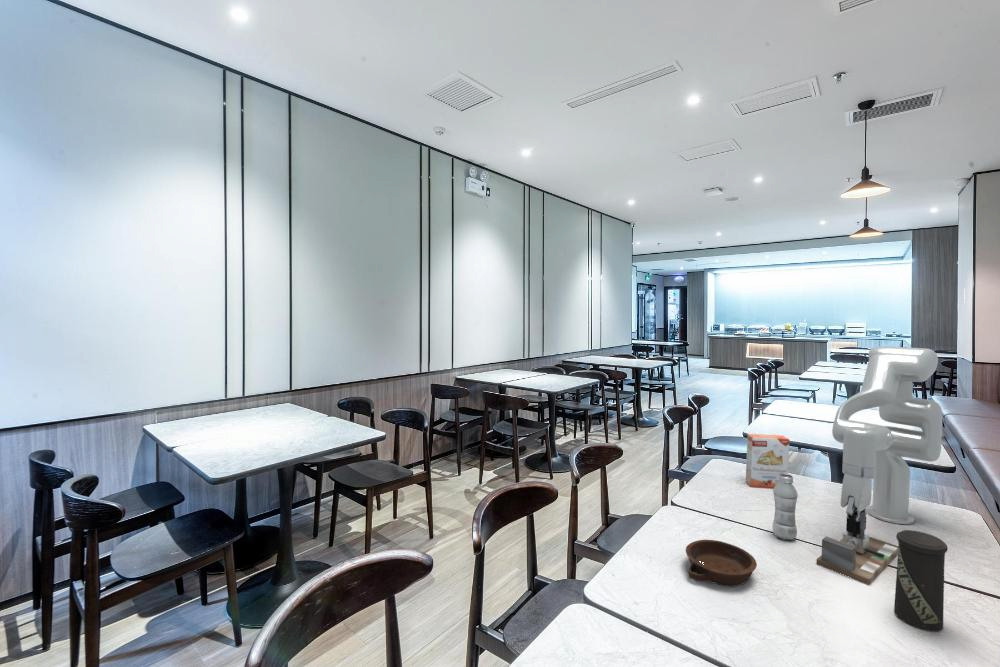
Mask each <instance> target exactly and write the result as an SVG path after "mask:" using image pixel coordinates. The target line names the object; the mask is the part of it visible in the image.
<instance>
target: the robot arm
mask: <svg viewBox="0 0 1000 667" xmlns="http://www.w3.org/2000/svg"><path fill="white" fill-rule="evenodd" d="M938 363H939V358H938V354H937V353H936V352H935V350H933V349H930V348H925V347H924V348H920V347H903V346H875V347H872V348H871V349H869V351H868V362H867V366H866V371H865V373H864V377H863V382H862V384H861V385H862V386H861V389H860V391H859V392H857V393H856V394H855V393H854V394H853V395H852V396H850V397H849V398H847V399H846V400H845V401H844V402H843V403H842V404H840V405H839V407H838V409H837V410H836V414H835V418H834V421H833V424H832V431H831V433H832V437H833V439H834V440H835V441H836V442H838V443H840V444H842V445H843V446H842V451H843V452H842V467H841V468H842V471H841V472H842V474H844V475H843V478H842V485H841V494H840V506H841V507H842V508H845V507H846V509H845V514H846V528H845V531H846V530H847V531H848V532H851V533H854V534H857V535H859V534H860V527H861V521H859V518H860V512H861V511H864V512H865V513H866V515H865V530H866V529H867V514H868V515H870V516H872V517H873V518H875V519H878V520H880V521H884V522H886V523H887V522H888V523H893V524H898V525H911V524H914V523H915V517H914V516H913V515H912V514H910V513H909V509H910V508H909V507H910V506H909V505H910V502H909V501H910V489H911V488H910V486H911V469H910V467H909V465H908V464H907V462H906V460H904V458H906V459H907V458H908V459H913V460H918V461H923V462H924V461H925V462H935V461H937V460H939V459H940V457H941V453H942V440H943V439H942V437H943V436H942V435H943V409H942V407H941V405H940V403H938V402H937V401H935V400H932V399H925V398H918V397H917V398H916V397H914V396H913V395H914V394H913V389H914V382H915V383H924V382H926V381H927V380H928V379H929V378H930V377H932V375H933V374H934V373H935V371H936V370H937V367H938V365H939V364H938ZM873 408H878V413H879V414H878V415H879V417H880V419H881V420H883V421H884V422H888V423H892V424H896V425H897V424H898V425H902V426H903V425H905V426H909V427H915V428H920V429H921V431H920V430H916V429H908V428H903V427H897V426H892V425H891V426H889V425H879V424H875V423H868V422H865V421H864V422H863V421H857V420H850V418H851V416H853V415H854V414H856V413H858V412H860V411H863V410H864V411H865V410H868V409H873ZM872 480H873V483H872ZM872 486H873V487H872ZM871 501H872V503H871ZM871 504H872V505H871ZM853 511H854V512H857V513H856V514H855V513H854V512H853Z"/></svg>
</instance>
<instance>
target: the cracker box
mask: <svg viewBox="0 0 1000 667" xmlns="http://www.w3.org/2000/svg"><path fill="white" fill-rule="evenodd" d="M746 436H747V440H746V442H747V443H746V462H745V464H746V465H745V483H747V485H748V486H750V488H763V489H764V488H765V489H766V488H767V489H774V487H775V486H776V485H777V484H778V483H779V482H780V481H779V474H788V473H789V456H790V439H789V438H788V437H786V436H785V435H783V434H782V435H780V434H778V435H777V434H761V433H747V435H746ZM788 475H789V474H788Z"/></svg>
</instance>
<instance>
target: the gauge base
mask: <svg viewBox="0 0 1000 667" xmlns="http://www.w3.org/2000/svg"><path fill="white" fill-rule="evenodd" d="M869 549H870V550H873V551H876V552H879V553H882V554H884V557H881V556H878V555H875V554H872V553H869V552H865V553H863V554H861V553H859V552H856V546H853V545H850V544H847V543H844V542H842V538H841V539H839V540H838V539H835V538H833V537H829V536H828V535H827V536H824V537H823V538H822V539H821V555H819V556H818V557H817V558H816V560H815V562H816V565H817V564H818V566H820V565H821V566H820V567H822V566H823V568H825V569H828V570H830V571H832V570H833V572H835V571H836V572H835V573H837V572H838V573H837V574H840V573H841V575H842V574H844V575H843V576H845V575H846V576H845V577H847V576H849V577H848V578H850V577H851V578H850V579H852V578H853V580H855V581H857V580H858V582H859V583H863V584H865V585H868V586H870V585H871V584H872V583H873V581H875V580H876V579H877V577H879V576H880V574H882V572H883V571H884V570H885V569H886V568H887V567H888V566H889V565H890V564H891V563H892V562H893V560H894V559H895V558H897V557H898V545H896V544H894V543H893V544H892V543H890V542H887V541H884V540H881V539H877V538H875V537H872V536H869Z"/></svg>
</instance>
